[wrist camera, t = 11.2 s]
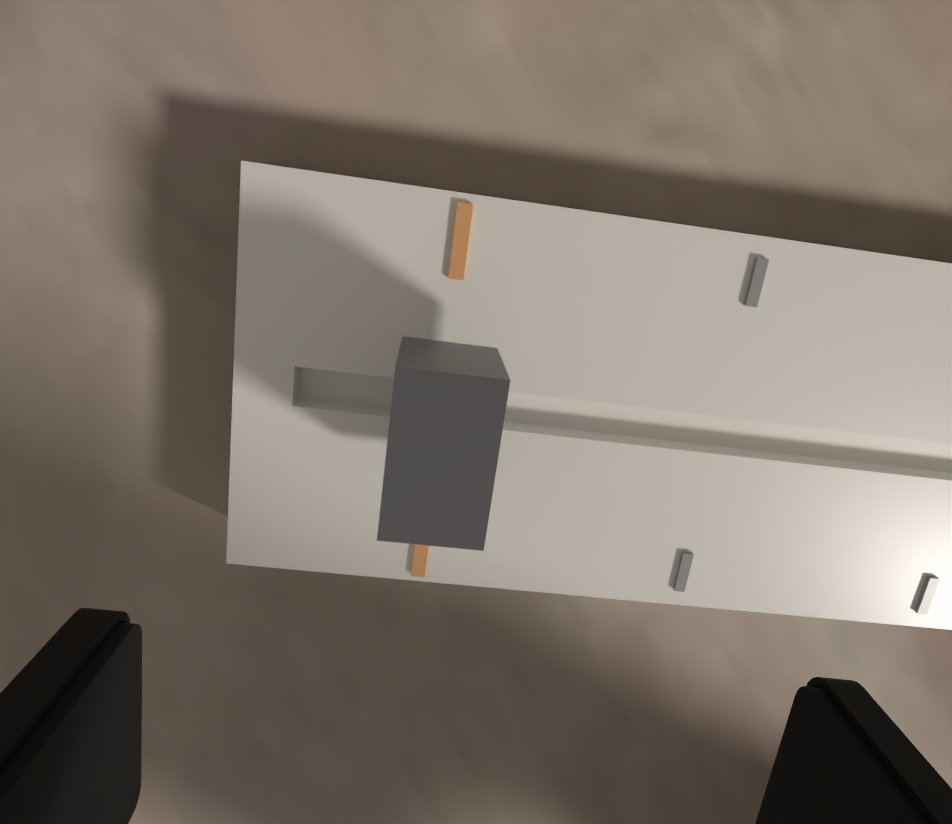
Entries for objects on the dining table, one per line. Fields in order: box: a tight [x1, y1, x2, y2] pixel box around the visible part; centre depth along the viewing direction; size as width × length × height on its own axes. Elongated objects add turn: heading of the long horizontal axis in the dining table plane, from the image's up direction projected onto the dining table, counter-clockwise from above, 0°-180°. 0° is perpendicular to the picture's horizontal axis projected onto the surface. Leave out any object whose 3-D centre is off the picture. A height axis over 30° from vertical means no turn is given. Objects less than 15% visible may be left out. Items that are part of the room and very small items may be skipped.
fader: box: [377, 336, 510, 551], centre depth 22 cm, size 5×3×6 cm, turn 172°
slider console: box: [226, 161, 952, 630], centre depth 26 cm, size 14×34×3 cm, turn 82°
